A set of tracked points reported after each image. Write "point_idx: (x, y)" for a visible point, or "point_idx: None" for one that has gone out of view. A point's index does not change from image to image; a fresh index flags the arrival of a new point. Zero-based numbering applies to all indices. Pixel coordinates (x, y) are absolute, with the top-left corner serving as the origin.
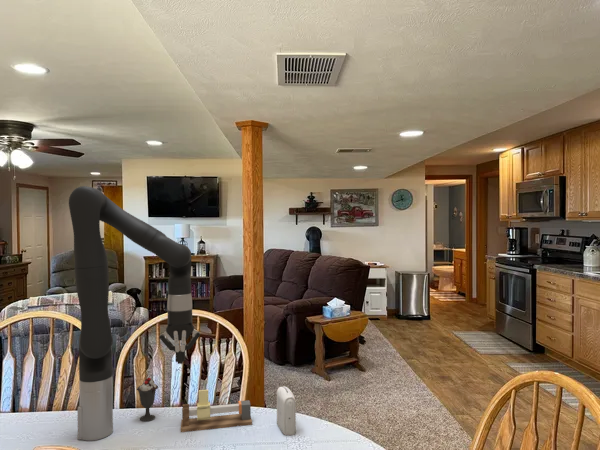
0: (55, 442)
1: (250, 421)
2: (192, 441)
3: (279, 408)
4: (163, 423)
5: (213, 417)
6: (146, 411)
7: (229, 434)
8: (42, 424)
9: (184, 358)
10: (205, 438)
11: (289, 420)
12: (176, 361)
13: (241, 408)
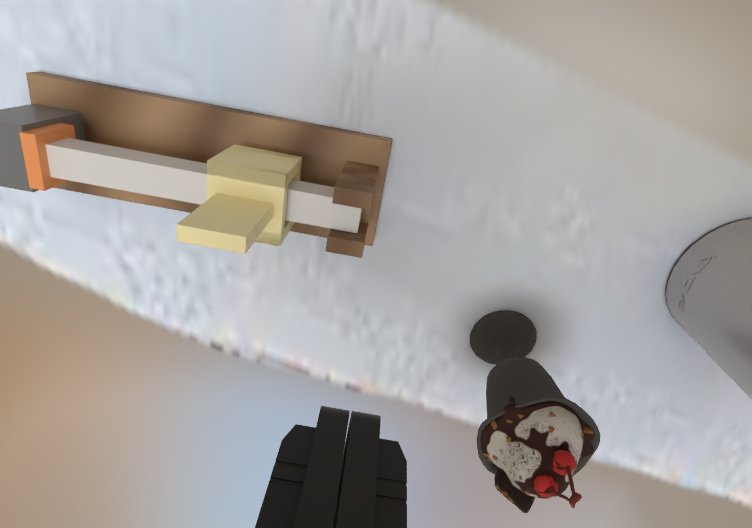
0: None
1: (34, 77)
2: (349, 3)
3: None
4: (449, 264)
5: None
6: (515, 353)
7: (155, 4)
8: None
9: (282, 459)
10: (281, 10)
11: None
12: (394, 448)
13: (39, 127)
